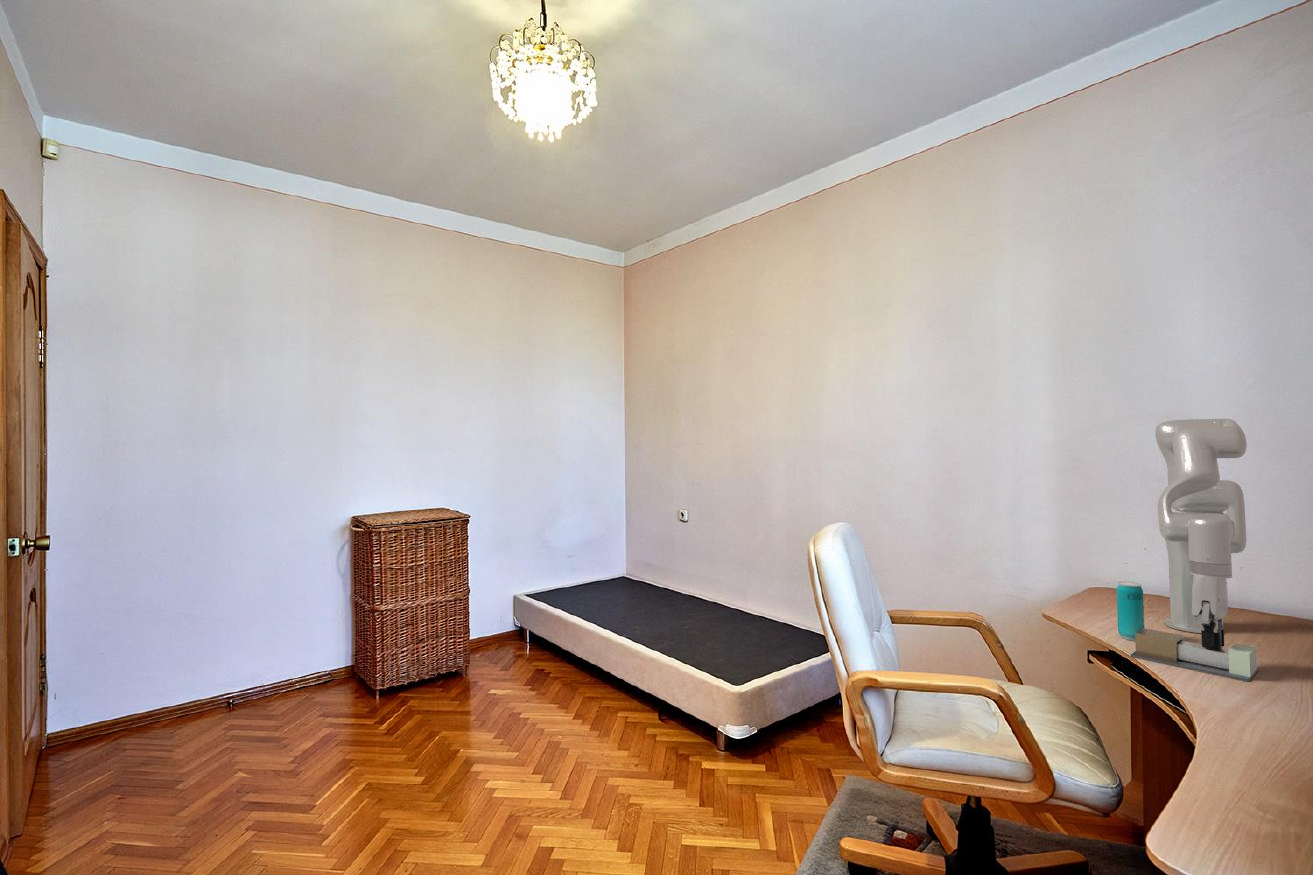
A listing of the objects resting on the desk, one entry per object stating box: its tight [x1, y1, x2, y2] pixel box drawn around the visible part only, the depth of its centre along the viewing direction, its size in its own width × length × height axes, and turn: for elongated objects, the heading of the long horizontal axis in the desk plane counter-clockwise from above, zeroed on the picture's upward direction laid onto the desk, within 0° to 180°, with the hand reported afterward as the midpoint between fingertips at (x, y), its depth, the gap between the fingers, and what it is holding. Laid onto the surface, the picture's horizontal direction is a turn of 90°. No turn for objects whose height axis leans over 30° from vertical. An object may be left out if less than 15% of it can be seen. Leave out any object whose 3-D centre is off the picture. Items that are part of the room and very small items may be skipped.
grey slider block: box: [1177, 621, 1230, 669], centre depth 147 cm, size 4×14×10 cm, turn 37°
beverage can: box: [1116, 581, 1145, 642], centre depth 167 cm, size 6×6×15 cm
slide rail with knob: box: [1130, 627, 1259, 683], centre depth 148 cm, size 11×22×6 cm, turn 37°
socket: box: [1228, 643, 1258, 677], centre depth 141 cm, size 7×4×5 cm, turn 127°
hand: (1213, 646), depth 145 cm, fingers closed on grey slider block, 3 cm apart
